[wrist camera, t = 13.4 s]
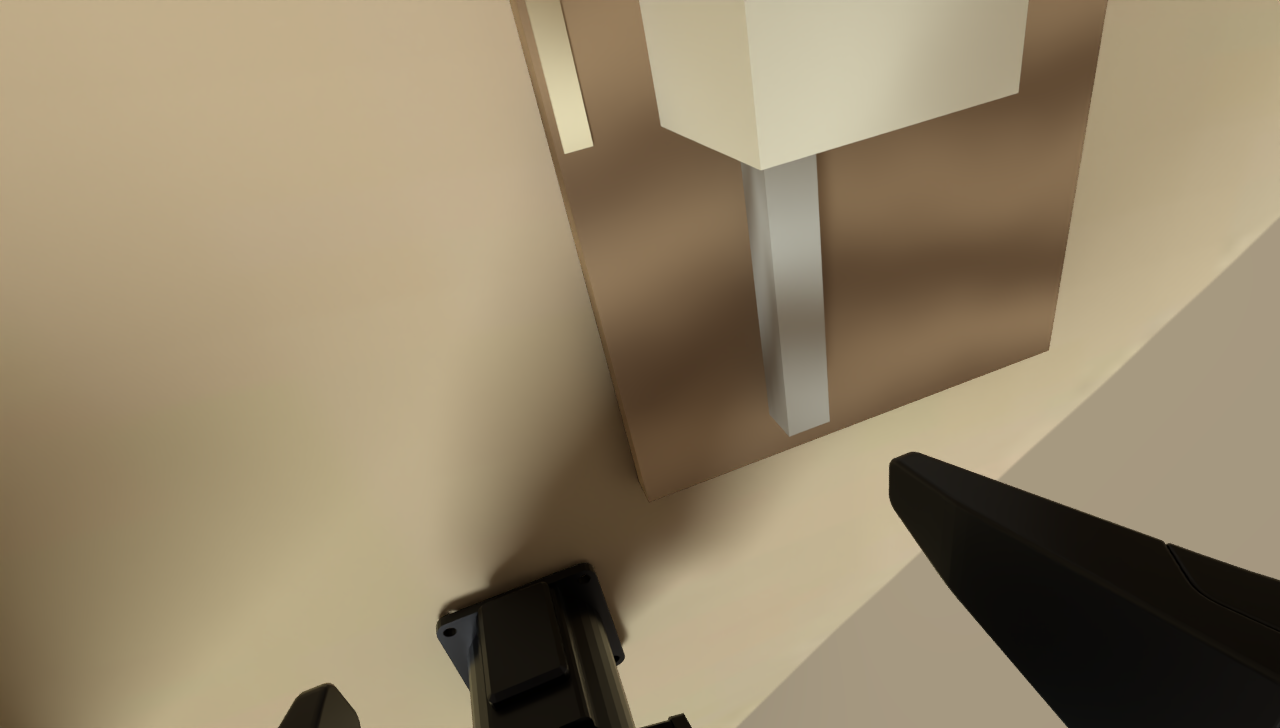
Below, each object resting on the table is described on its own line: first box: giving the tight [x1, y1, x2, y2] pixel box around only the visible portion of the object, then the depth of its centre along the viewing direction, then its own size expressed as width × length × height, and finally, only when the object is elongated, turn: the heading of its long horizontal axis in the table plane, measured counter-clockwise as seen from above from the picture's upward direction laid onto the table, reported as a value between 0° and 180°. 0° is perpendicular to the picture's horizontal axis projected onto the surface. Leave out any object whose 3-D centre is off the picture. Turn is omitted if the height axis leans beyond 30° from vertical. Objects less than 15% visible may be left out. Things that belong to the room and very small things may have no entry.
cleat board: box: [510, 0, 1108, 502], centre depth 19 cm, size 24×18×3 cm
